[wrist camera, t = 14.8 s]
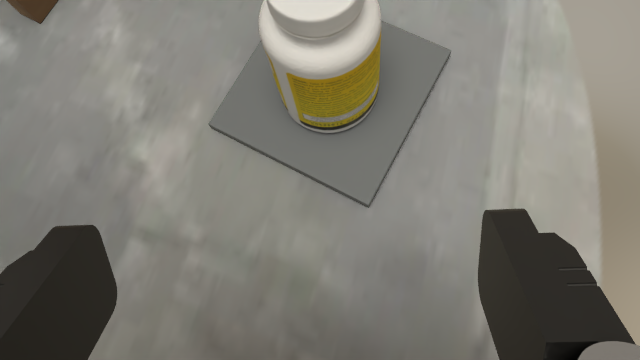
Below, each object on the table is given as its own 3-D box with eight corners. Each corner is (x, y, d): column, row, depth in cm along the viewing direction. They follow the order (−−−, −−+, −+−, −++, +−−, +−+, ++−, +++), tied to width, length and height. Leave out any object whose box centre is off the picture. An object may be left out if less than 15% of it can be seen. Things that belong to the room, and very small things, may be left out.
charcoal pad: (211, 128, 31) (208, 123, 30) (297, -10, 33) (296, -16, 32) (368, 207, 29) (368, 205, 28) (449, 55, 31) (451, 50, 30)
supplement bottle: (399, 89, 30) (414, -27, 20) (328, 155, 29) (308, 67, 20) (331, 29, 31) (315, -105, 22) (262, 90, 30) (214, -21, 21)
